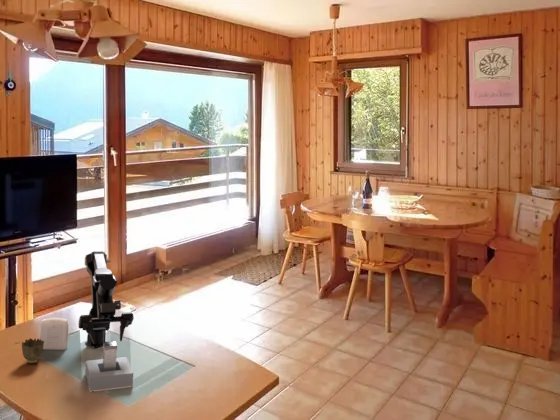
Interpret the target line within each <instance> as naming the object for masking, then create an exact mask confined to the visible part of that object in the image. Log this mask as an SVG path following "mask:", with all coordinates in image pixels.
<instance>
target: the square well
mask: <svg viewBox="0 0 560 420" xmlns="http://www.w3.org/2000/svg"><path fill="white" fill-rule="evenodd" d="M102 365H103V358H101V359H92V360H89V359H88V360H86V361H85V372H84V374H85V375H84V376H85V379H86V382H87V386H88V389H89V390H90V391H89V392H90V393H91V392H92V391H94V392H101V391H109V390H117V389H119V390H120V389H126V388H133V386H134V371H133V369H132V367H131V364H130V362H129V359H128V358H127V356H123V357H116V371H106V372H102ZM92 393H93V392H92Z"/></svg>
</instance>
